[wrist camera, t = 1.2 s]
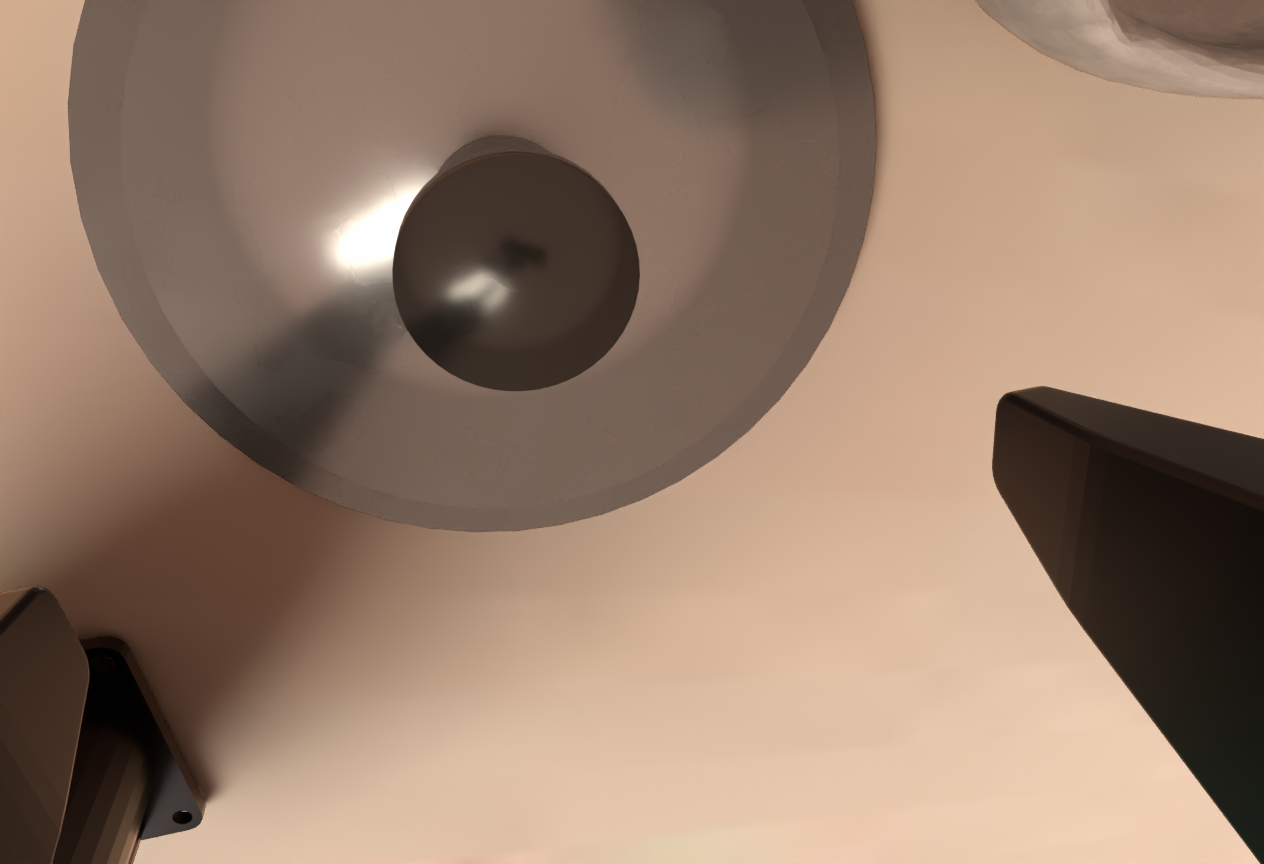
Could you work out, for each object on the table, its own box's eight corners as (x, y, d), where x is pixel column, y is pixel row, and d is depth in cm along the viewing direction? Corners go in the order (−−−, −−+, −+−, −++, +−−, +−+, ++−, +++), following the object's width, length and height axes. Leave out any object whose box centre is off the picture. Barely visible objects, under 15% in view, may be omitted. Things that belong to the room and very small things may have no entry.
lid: (859, 449, 25) (956, 573, 20) (235, 568, 23) (183, 732, 19) (865, -317, 17) (1026, -405, 12) (-77, -214, 15) (-302, -270, 11)
